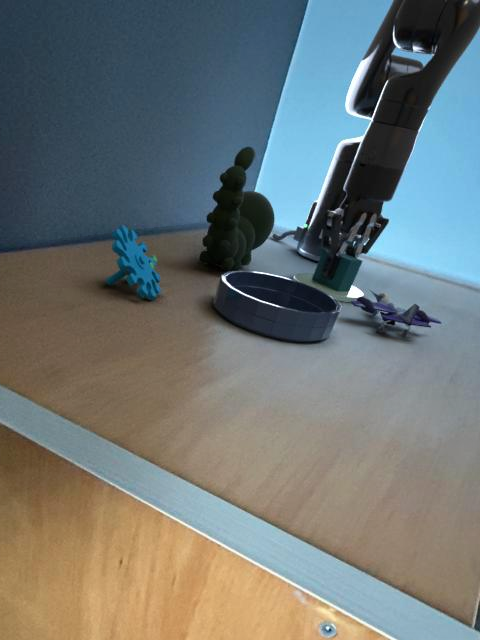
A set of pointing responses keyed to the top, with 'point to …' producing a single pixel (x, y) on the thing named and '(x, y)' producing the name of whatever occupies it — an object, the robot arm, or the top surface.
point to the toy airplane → (394, 312)
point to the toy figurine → (236, 218)
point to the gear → (134, 264)
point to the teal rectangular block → (339, 272)
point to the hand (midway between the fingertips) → (332, 278)
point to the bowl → (276, 306)
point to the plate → (339, 296)
